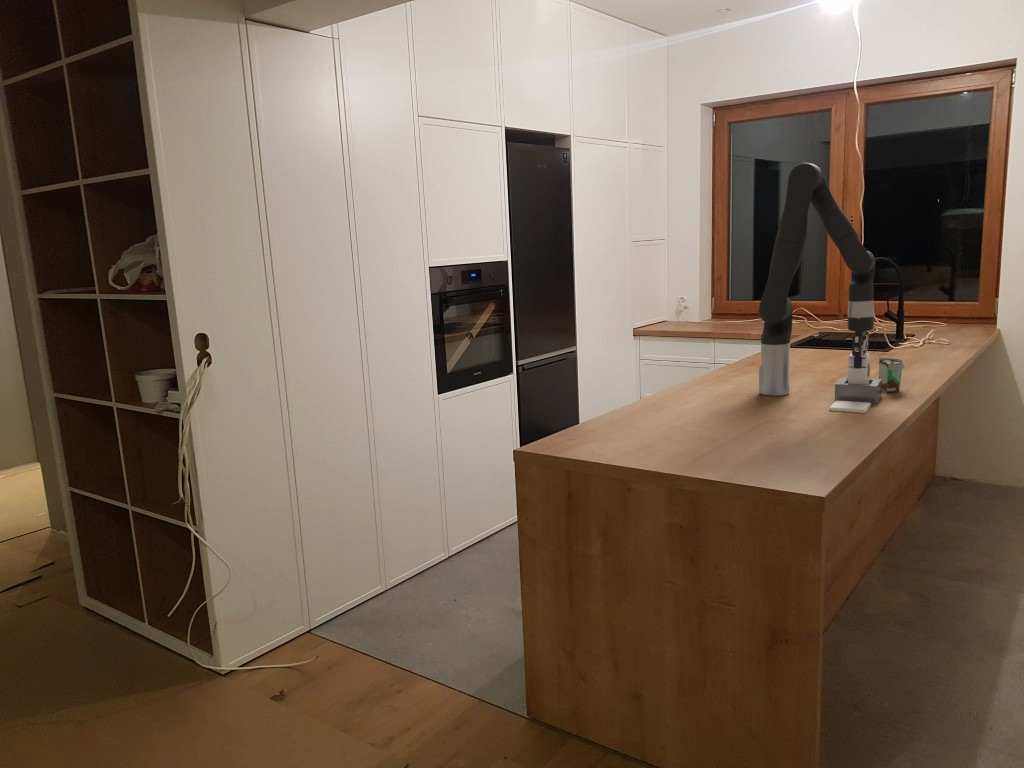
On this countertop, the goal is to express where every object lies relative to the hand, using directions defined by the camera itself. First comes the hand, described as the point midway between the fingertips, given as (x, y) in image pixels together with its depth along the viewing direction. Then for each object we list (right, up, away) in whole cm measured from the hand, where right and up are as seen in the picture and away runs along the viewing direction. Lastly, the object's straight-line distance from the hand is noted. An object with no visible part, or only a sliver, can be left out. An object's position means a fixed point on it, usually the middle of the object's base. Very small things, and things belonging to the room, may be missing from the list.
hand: (860, 366), depth 242 cm
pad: (-7, -13, -10) cm, 18 cm away
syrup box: (0, -11, +2) cm, 11 cm away
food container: (+16, -8, +11) cm, 21 cm away
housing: (0, -10, +2) cm, 11 cm away
